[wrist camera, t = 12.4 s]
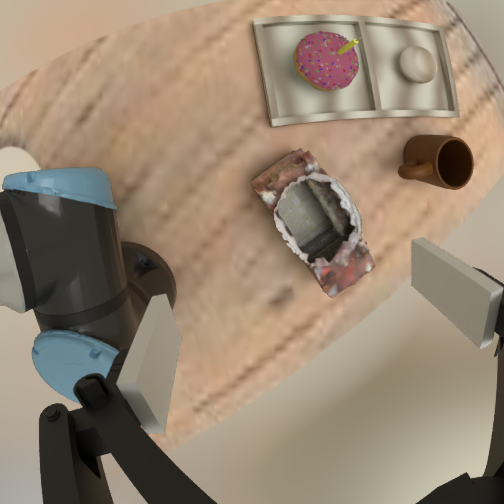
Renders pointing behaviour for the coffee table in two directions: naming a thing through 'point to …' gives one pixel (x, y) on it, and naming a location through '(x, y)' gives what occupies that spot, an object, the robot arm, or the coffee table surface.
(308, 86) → the divided tray
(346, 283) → the decorative box
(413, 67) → the wooden egg
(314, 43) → the cupcake
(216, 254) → the coffee table surface
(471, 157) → the mug
